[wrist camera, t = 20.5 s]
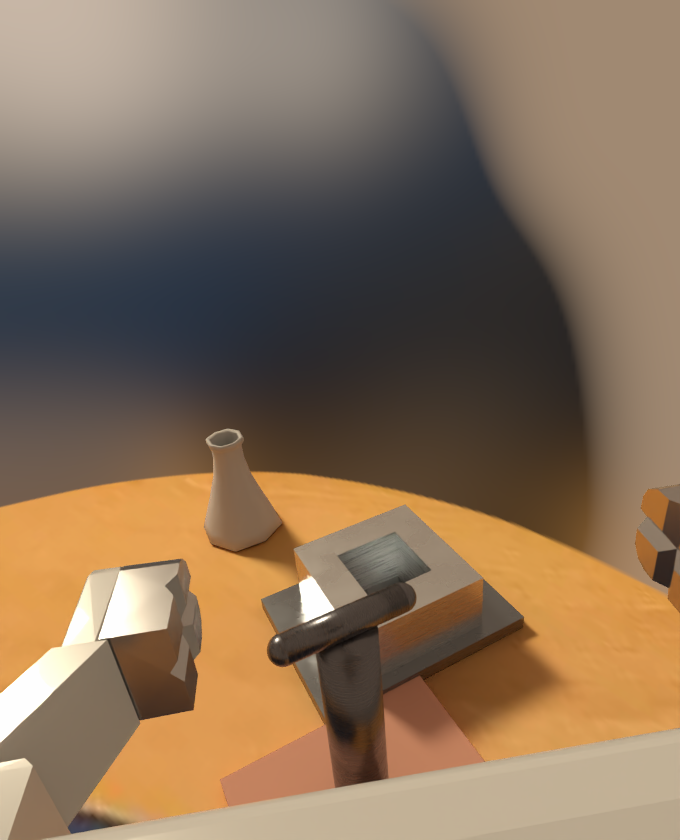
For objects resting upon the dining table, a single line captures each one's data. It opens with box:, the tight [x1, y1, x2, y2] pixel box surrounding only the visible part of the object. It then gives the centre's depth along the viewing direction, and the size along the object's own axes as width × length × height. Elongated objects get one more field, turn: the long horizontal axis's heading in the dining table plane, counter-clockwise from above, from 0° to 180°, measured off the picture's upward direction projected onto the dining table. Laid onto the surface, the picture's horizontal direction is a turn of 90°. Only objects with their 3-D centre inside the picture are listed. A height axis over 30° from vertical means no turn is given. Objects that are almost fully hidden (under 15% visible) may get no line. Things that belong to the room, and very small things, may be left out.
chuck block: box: [261, 505, 524, 725], centre depth 44 cm, size 16×12×6 cm
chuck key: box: [267, 582, 417, 788], centre depth 30 cm, size 7×3×14 cm, turn 116°
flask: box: [204, 429, 282, 552], centre depth 55 cm, size 7×7×10 cm
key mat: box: [220, 675, 485, 806], centre depth 33 cm, size 14×10×1 cm
